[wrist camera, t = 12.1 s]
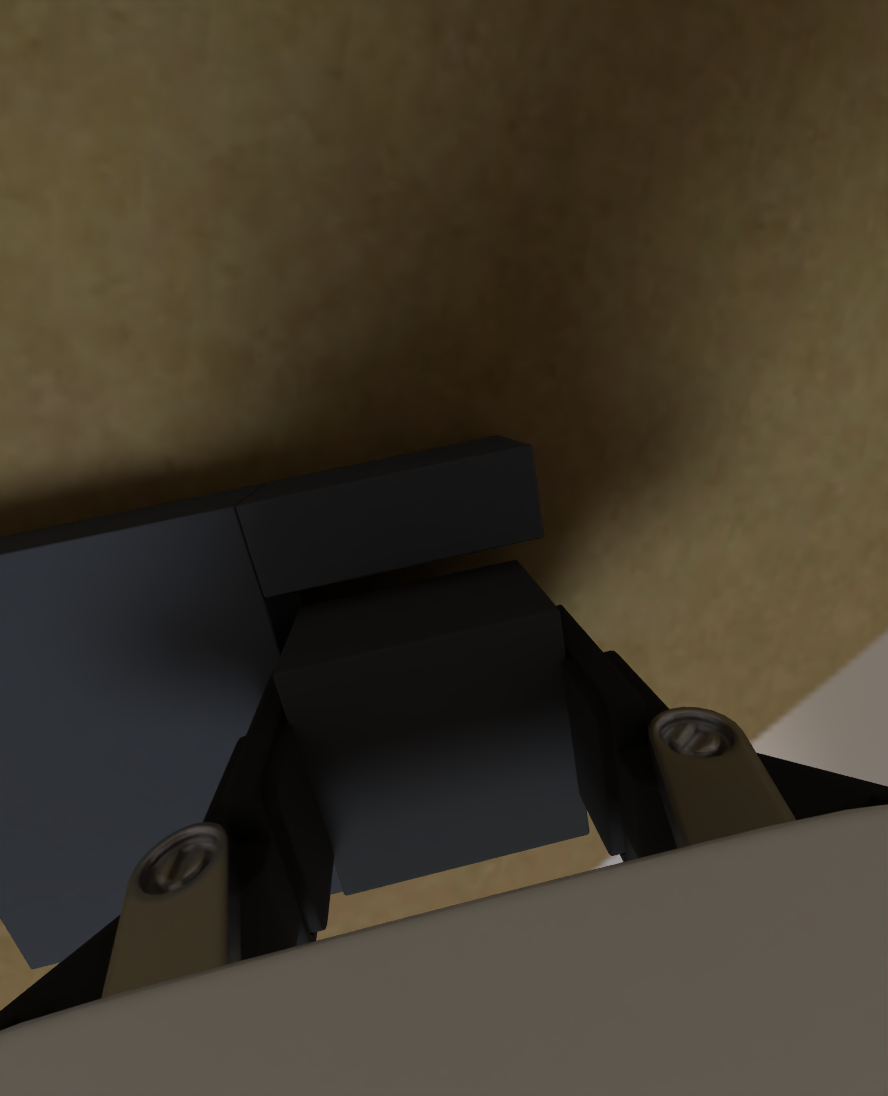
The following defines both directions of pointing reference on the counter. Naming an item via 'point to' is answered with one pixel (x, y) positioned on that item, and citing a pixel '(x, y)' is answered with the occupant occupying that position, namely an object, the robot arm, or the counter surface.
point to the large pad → (189, 653)
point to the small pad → (433, 723)
